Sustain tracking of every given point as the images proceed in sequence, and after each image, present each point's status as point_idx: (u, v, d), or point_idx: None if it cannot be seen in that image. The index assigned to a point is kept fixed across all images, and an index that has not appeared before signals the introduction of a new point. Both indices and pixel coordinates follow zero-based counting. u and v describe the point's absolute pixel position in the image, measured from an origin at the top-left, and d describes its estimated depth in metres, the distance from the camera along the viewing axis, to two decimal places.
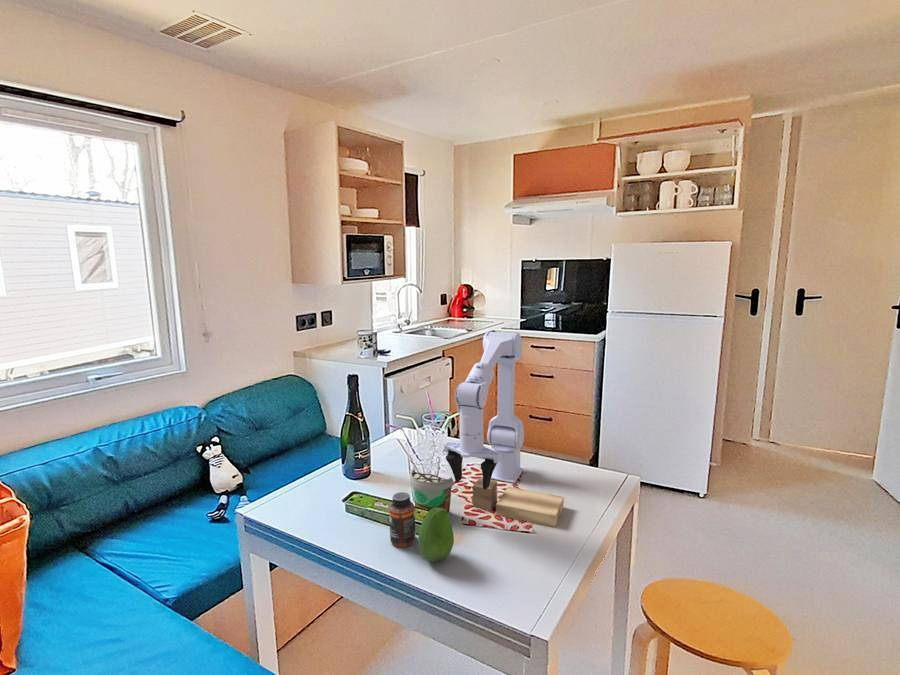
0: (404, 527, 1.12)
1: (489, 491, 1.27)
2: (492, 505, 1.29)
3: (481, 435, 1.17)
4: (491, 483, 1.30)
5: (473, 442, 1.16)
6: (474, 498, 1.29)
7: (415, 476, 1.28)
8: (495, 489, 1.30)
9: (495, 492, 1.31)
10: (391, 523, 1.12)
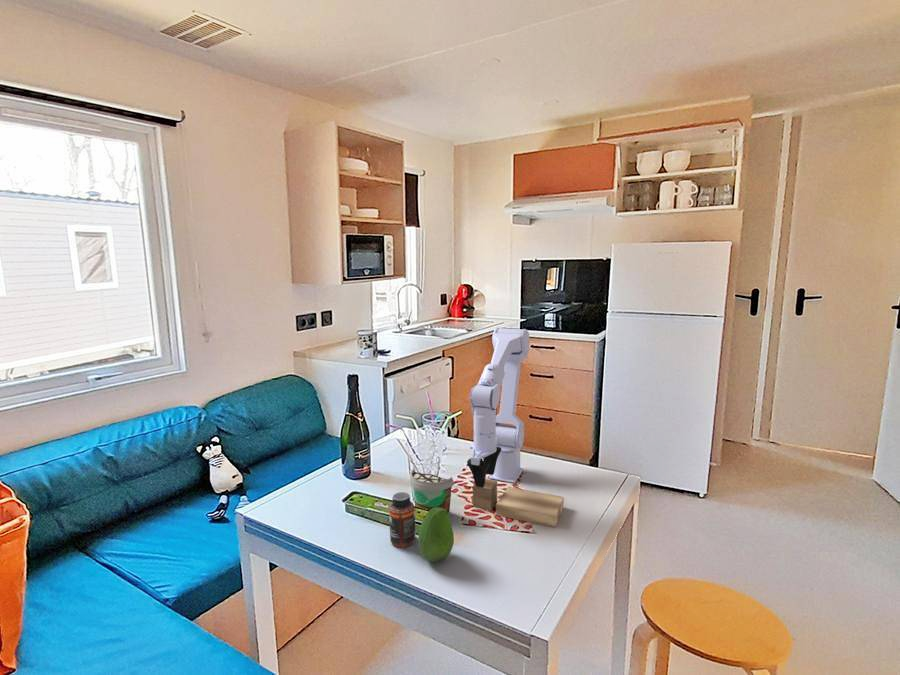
0: (404, 527, 1.12)
1: (489, 491, 1.27)
2: (492, 505, 1.29)
3: (479, 435, 1.25)
4: (491, 483, 1.30)
5: (474, 438, 1.27)
6: (475, 498, 1.29)
7: (415, 476, 1.28)
8: (495, 489, 1.30)
9: (495, 492, 1.31)
10: (391, 523, 1.12)
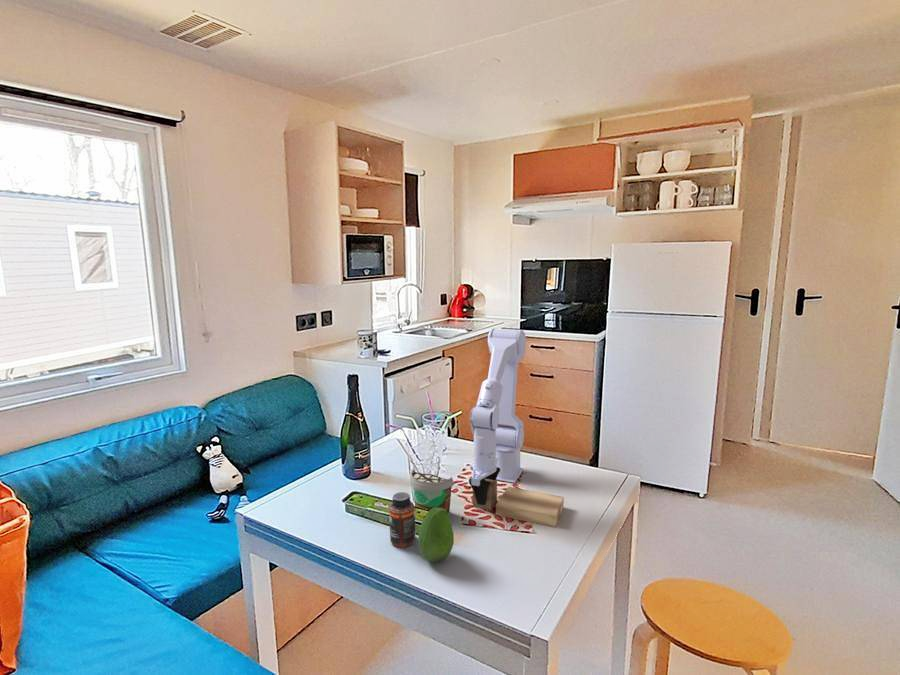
0: (404, 527, 1.12)
1: (489, 491, 1.27)
2: (492, 505, 1.29)
3: (479, 456, 1.26)
4: (491, 483, 1.30)
5: (474, 458, 1.28)
6: (474, 497, 1.29)
7: (415, 476, 1.28)
8: (495, 489, 1.30)
9: (495, 492, 1.31)
10: (391, 523, 1.12)
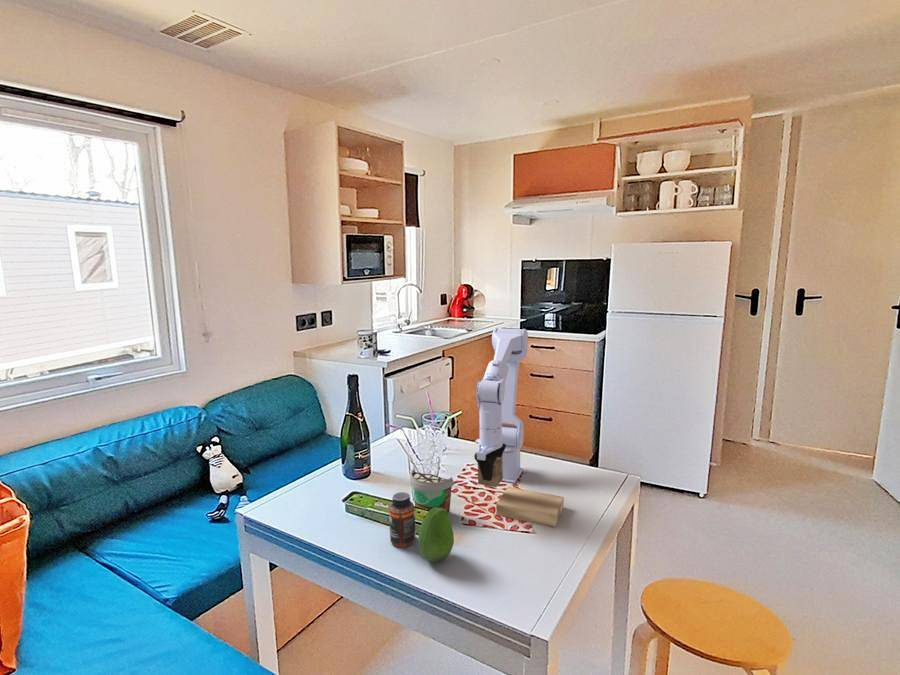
0: (404, 527, 1.12)
1: (494, 468, 1.25)
2: (497, 482, 1.27)
3: (485, 430, 1.24)
4: (497, 460, 1.28)
5: None
6: (480, 474, 1.27)
7: (415, 476, 1.28)
8: (501, 466, 1.29)
9: (501, 469, 1.29)
10: (391, 523, 1.12)
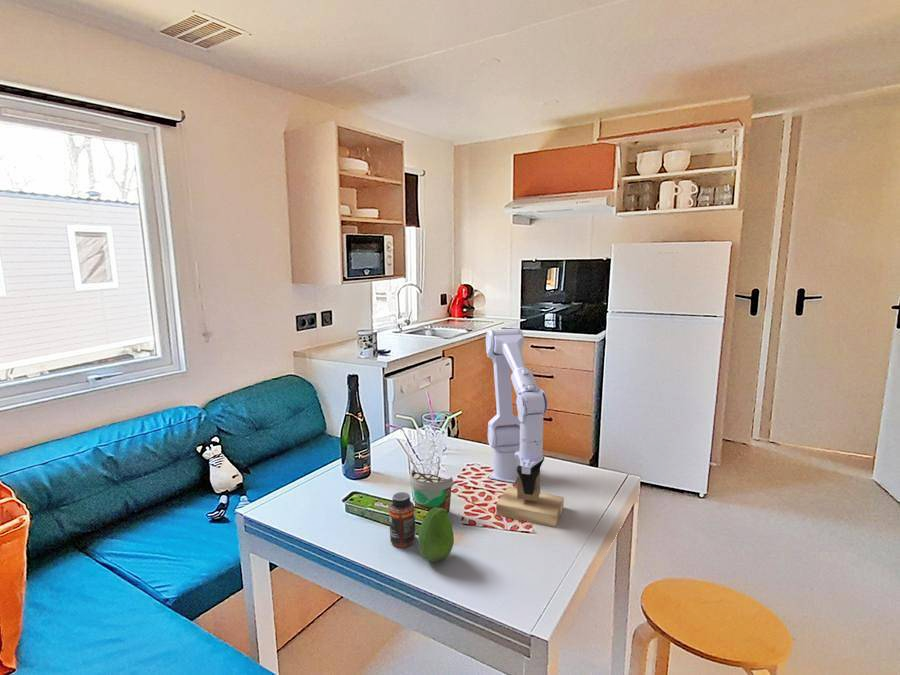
0: (404, 527, 1.12)
1: None
2: (537, 495, 1.24)
3: (527, 443, 1.21)
4: None
5: (520, 446, 1.23)
6: (519, 489, 1.24)
7: (415, 476, 1.28)
8: (539, 479, 1.26)
9: (539, 482, 1.26)
10: (391, 523, 1.12)
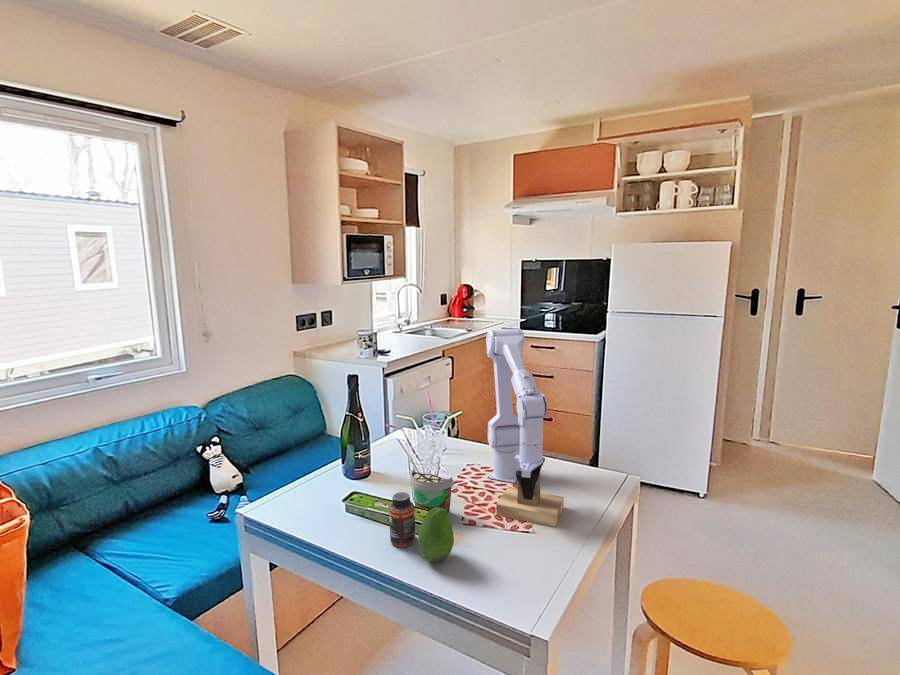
0: (404, 527, 1.12)
1: (536, 486, 1.23)
2: (537, 500, 1.25)
3: (527, 447, 1.21)
4: None
5: (520, 449, 1.23)
6: (519, 494, 1.25)
7: (415, 476, 1.28)
8: (539, 484, 1.26)
9: (539, 487, 1.27)
10: (391, 523, 1.12)
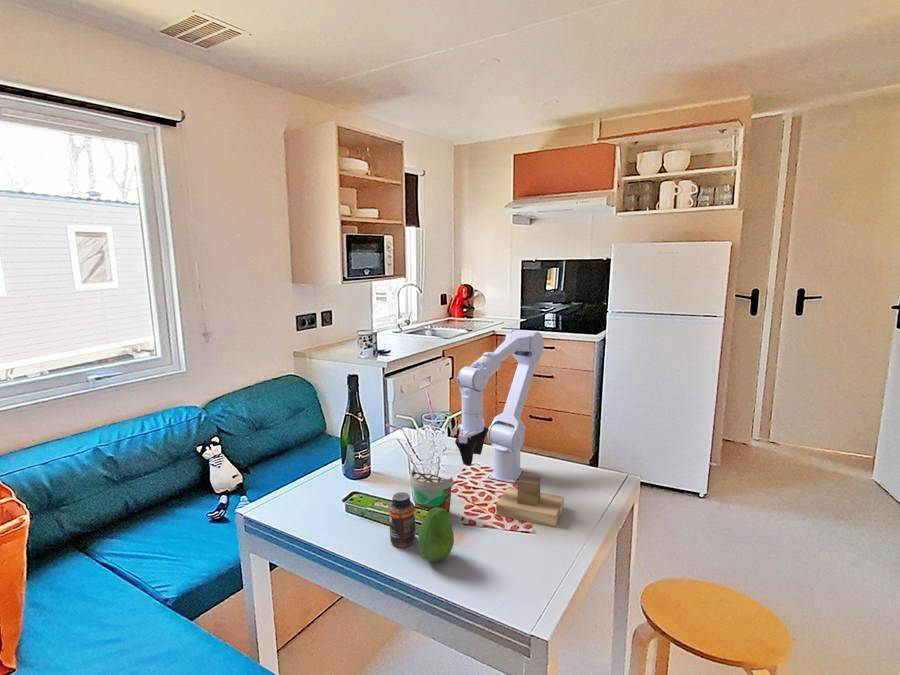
0: (404, 527, 1.12)
1: (536, 486, 1.23)
2: (537, 500, 1.25)
3: (467, 415, 1.30)
4: (535, 478, 1.26)
5: None
6: (519, 494, 1.25)
7: (415, 476, 1.28)
8: (539, 484, 1.26)
9: (539, 487, 1.27)
10: (391, 523, 1.12)
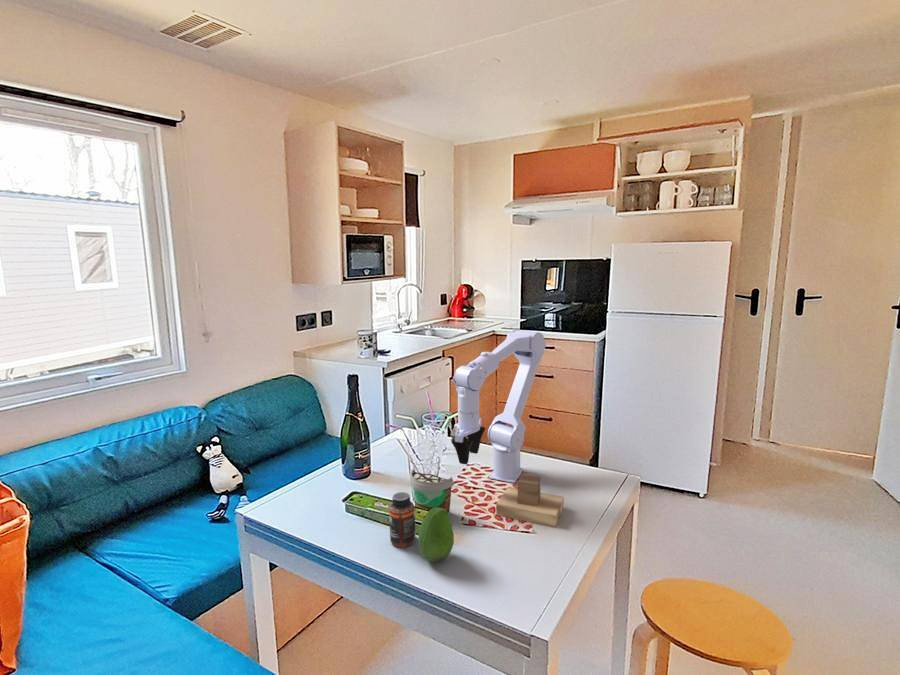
0: (404, 527, 1.12)
1: (536, 486, 1.23)
2: (537, 500, 1.25)
3: (463, 414, 1.30)
4: (535, 478, 1.26)
5: (458, 417, 1.32)
6: (519, 494, 1.25)
7: (415, 476, 1.28)
8: (539, 484, 1.26)
9: (539, 487, 1.27)
10: (391, 523, 1.12)
